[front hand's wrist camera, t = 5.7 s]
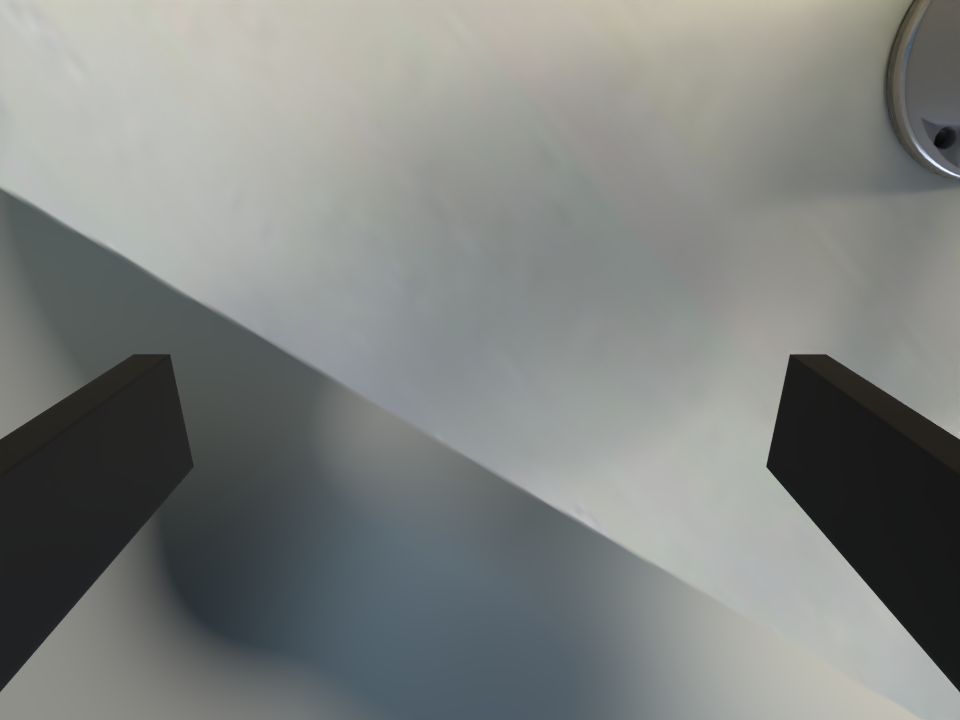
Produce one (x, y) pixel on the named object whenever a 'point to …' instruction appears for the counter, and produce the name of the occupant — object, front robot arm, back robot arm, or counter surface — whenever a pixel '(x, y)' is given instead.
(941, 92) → the front robot arm
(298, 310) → the counter surface
